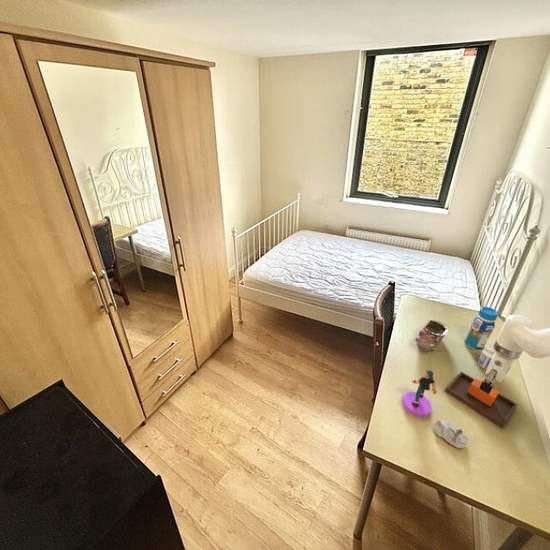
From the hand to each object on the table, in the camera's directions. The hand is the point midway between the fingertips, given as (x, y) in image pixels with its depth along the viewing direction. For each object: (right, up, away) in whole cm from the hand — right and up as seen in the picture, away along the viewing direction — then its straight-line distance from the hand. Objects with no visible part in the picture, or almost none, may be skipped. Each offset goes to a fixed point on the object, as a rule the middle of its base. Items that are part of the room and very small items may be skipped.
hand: (489, 384), depth 106 cm
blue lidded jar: (+15, +7, +31) cm, 35 cm away
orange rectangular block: (0, -7, +4) cm, 8 cm away
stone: (-19, -15, -8) cm, 26 cm away
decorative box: (-5, +6, +30) cm, 31 cm away
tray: (0, -8, +5) cm, 9 cm away
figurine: (-26, -9, +2) cm, 27 cm away
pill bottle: (+13, +1, +20) cm, 24 cm away
